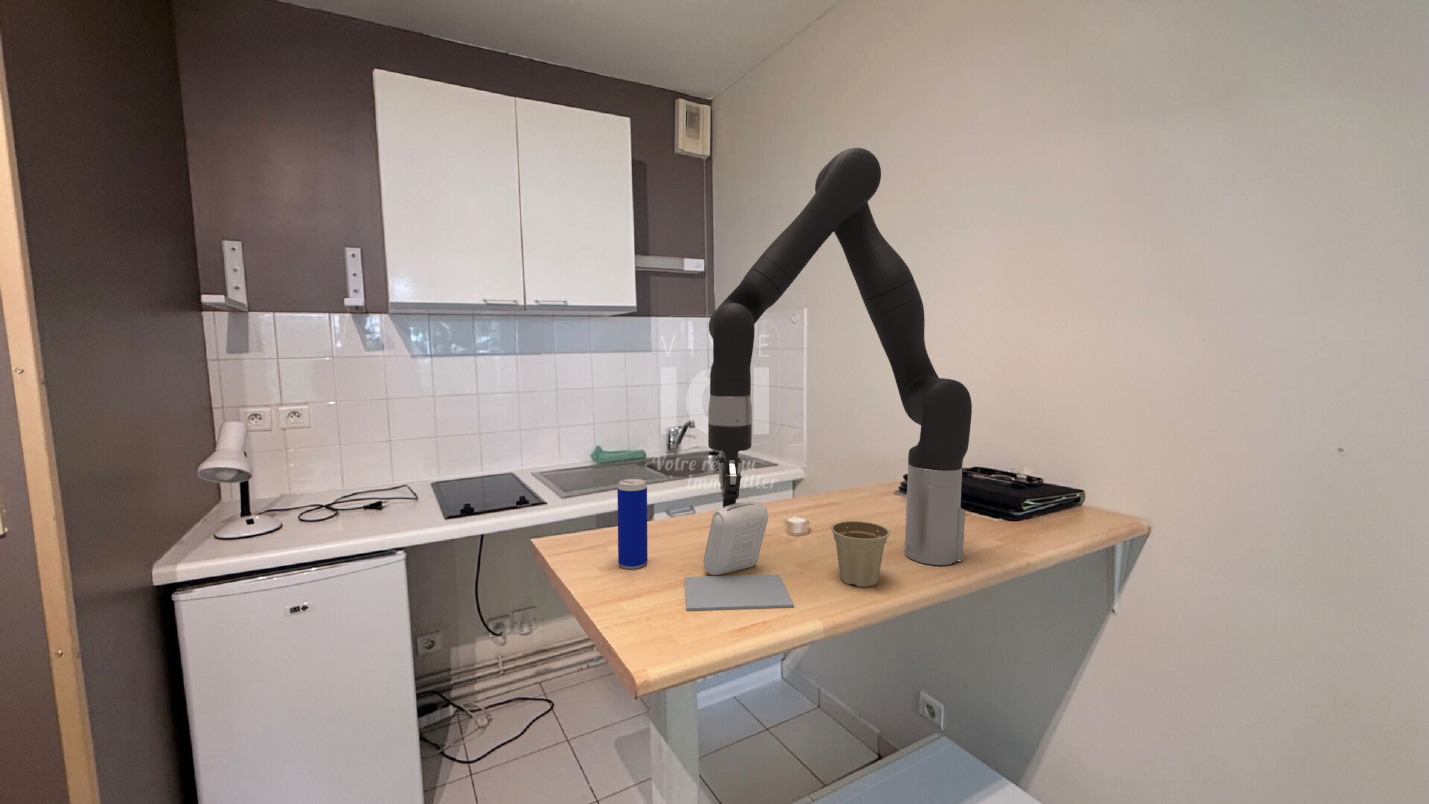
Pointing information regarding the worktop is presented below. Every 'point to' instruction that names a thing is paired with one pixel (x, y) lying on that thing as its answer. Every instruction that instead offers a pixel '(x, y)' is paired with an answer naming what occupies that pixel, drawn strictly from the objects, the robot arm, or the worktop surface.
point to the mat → (736, 592)
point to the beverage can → (632, 523)
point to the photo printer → (735, 537)
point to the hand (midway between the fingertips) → (729, 519)
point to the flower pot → (859, 551)
